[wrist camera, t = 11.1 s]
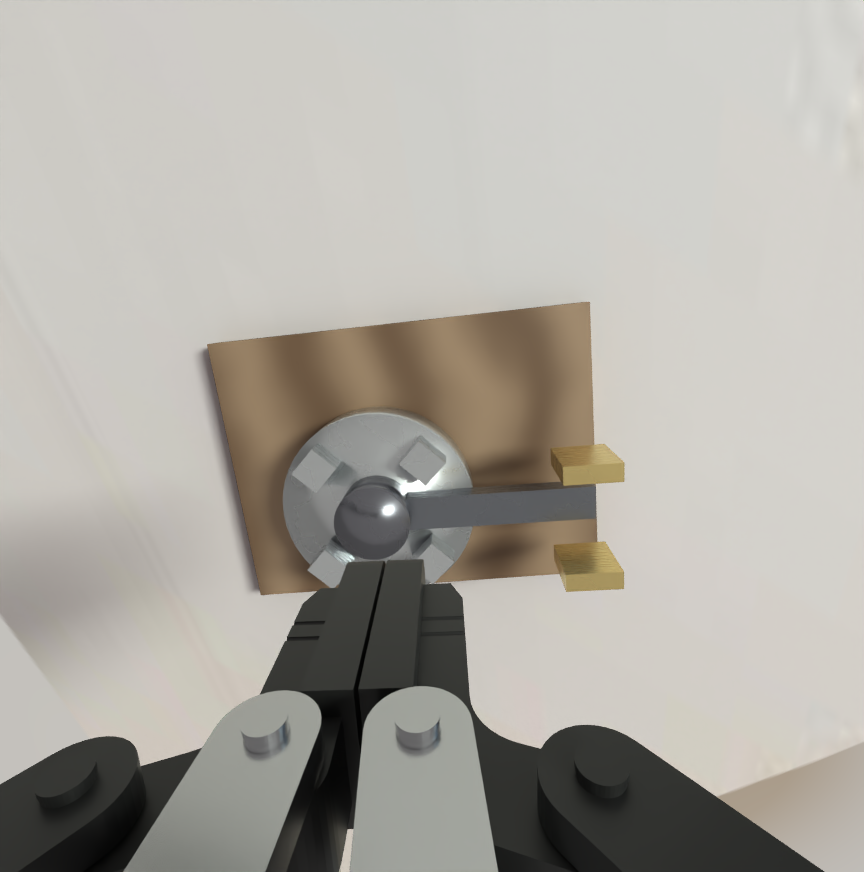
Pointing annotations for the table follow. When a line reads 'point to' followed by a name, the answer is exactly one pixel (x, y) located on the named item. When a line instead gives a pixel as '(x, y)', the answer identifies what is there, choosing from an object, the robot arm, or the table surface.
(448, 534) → the silver rotary lever
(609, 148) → the table surface
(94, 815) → the robot arm
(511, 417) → the base plate
